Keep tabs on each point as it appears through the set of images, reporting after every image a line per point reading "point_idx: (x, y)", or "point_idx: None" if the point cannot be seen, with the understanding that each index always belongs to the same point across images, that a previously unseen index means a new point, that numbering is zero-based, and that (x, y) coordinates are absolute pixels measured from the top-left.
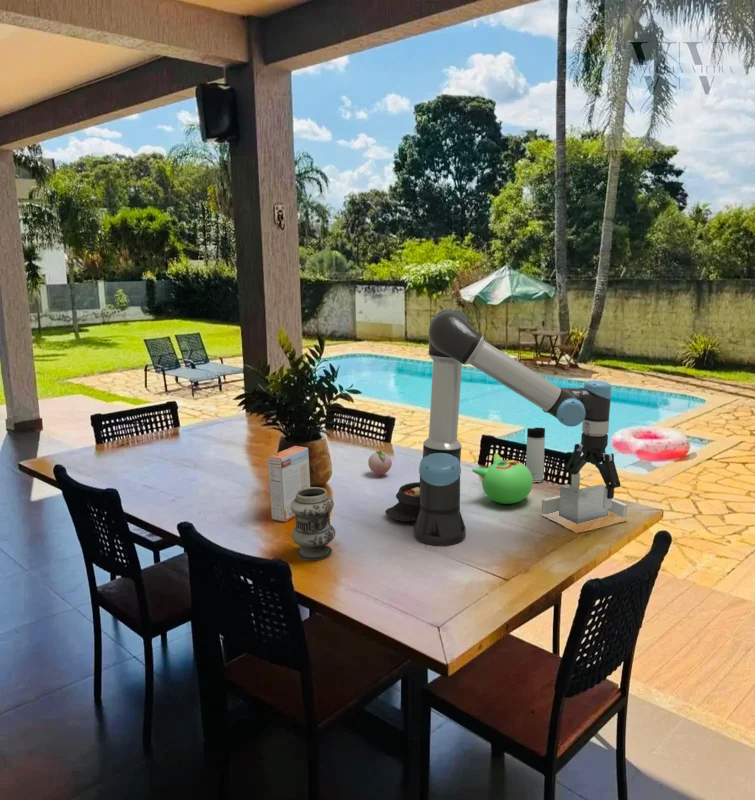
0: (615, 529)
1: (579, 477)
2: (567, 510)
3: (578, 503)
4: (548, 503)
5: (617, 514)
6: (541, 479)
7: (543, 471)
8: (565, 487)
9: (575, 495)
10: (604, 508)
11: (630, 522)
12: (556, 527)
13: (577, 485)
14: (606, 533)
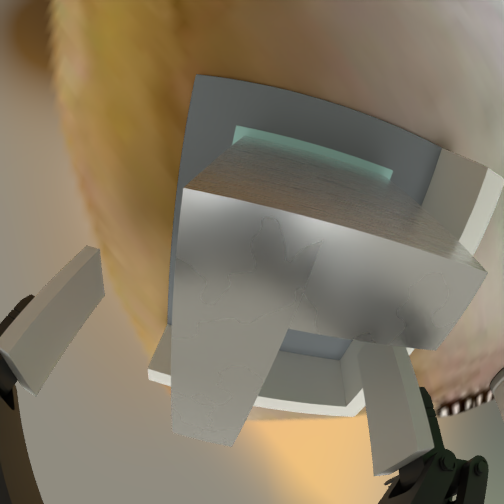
0: (138, 250)
1: (374, 449)
2: (335, 168)
3: (215, 161)
4: (466, 186)
5: None
6: (496, 383)
7: (498, 403)
8: (436, 264)
9: (252, 187)
10: (85, 248)
11: (160, 332)
12: (325, 66)
13: (374, 391)
14: (128, 189)
